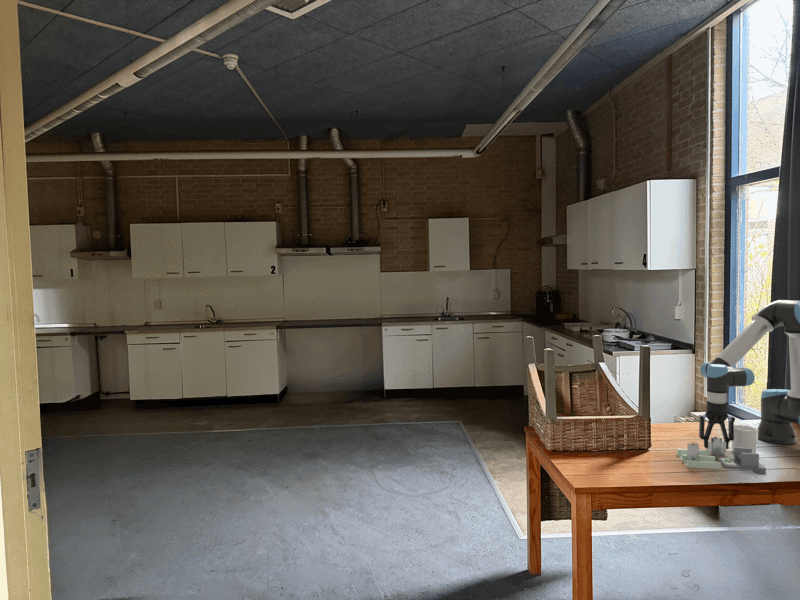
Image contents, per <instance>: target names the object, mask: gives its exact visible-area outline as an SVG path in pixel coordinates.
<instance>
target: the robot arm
mask: <svg viewBox="0 0 800 600" xmlns="http://www.w3.org/2000/svg"><path fill="white" fill-rule="evenodd" d="M779 327H783V328H784V329H783V331H784V334H786V335H787V336H788V346H789V347H788V349H789V350H788V351H789V369H790V370H789V374H790V375H789V376H790V377H789V378H790V389H784V388H783V389H782V388H777V389H776V388H771V389H770V388H769V389H767V388H766V389H764V390H761V391H762V392H761V396H760V422H759V423H758V424H759V425H758V426H757V428H756V429H757V430H759V431H758V440H760V441H762V442H766V443H767V442H768V443H771V444H777V445H778V444H779V445H792V444H793V445H794V444H795V443H797V436H796V435H797V434H796V433H795V431H794V427H793V424H792V423H794V424H797V425H799V426H800V300H793V299H792V300H788V299H777V300H775V301H773V302H770V303H768V304H766V305H765V306H763V307H762V308H761V309H759V310H758V311H757V312H756V313H755V314H754V315H753V316H752V317H751V322H749V324H748V325H746V327H744V329H742V331H740V333H739V334H737V336H736V337H735V338H734V339H733V340H732V341H731V342H730V343H728V345H727V346H726V347H725V348H724V349H723V350H722V351H721V352H720V353H719V354H718V355H717V356H716V357H715V358H714V359H713V360H712V361H705V362H703V363H702V364H701V365H700V369H699V370H700V374H701V375H702V376H703V378H706V401H705V402H706V404H705V405H706V409H705V413H704V414H698V419H699V424H698V425H699V427H698V428H699V430H698V437H699V438H700V440H703V447H704V448H705V450H709V456H711V440H709V439H710V438H711V434H712V430H713V427H715V426H714V425H719V427H720V430H721V434H722V437H723V438H722V455H723V456H727V450H729V447H730V446H729V444H730V442H732V441H733V440H734V425H735V424H734V423H735V421H736V418H735V417H734V416H733V415H729V414H728V388H734V387H737V388H738V387H749V386H751V385H753V384H754V382H755V380H756V379H755V377H756V376H755V373H754V372H753V371H752V369H750V368H748V367H735V366H736V365H737V364H738V363H739V362H740V361H741V359H743V358H744V357H745V356H746V354H748V353H749V352H750V350H751V349H752V348H754V346H755V345H756V344H758V343H759V341H761V339H762V338H763V337H765V335H767V334H768V333H771V332H773V331H774V330H775V329H776V328H779ZM706 419H707V421H708V422H707V426H706V430H705V420H706ZM726 421H728V424H727V426H728V427H727V428H728V432H727V428H726V424H725V422H726Z"/></svg>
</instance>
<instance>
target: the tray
mask: <svg viewBox="0 0 800 600" xmlns="http://www.w3.org/2000/svg"><path fill="white" fill-rule="evenodd" d="M676 455H677V456H678V458H679V459H680V460H681V461H682V462H683V464H684V465H685V466H686V467H687V468H691V469H692V468H693V469H707V470H708V469H710V470H722V464H721V462H719V461H716V455H709V450H706V449H699V461H692V460H687V448H677V449H676Z"/></svg>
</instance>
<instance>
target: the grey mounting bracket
mask: <svg viewBox="0 0 800 600" xmlns="http://www.w3.org/2000/svg"><path fill="white" fill-rule="evenodd" d="M737 454H741V459H740V458H739V457H738V456H737ZM716 460H717V462H721V466H722V467H724V468H725V469H730V470H731V469H733V470H751V471H752V472H753V473H755V474H767V473H766V472H767V470H766V469H767V468H766V467H765V466H764V465H763V464H761V463H760V462H759V461H760V454H759V453H758V452H756V453H752V448H742V447H734V452H733V457H720V456H719V457H718V456H717V457H716Z"/></svg>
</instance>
